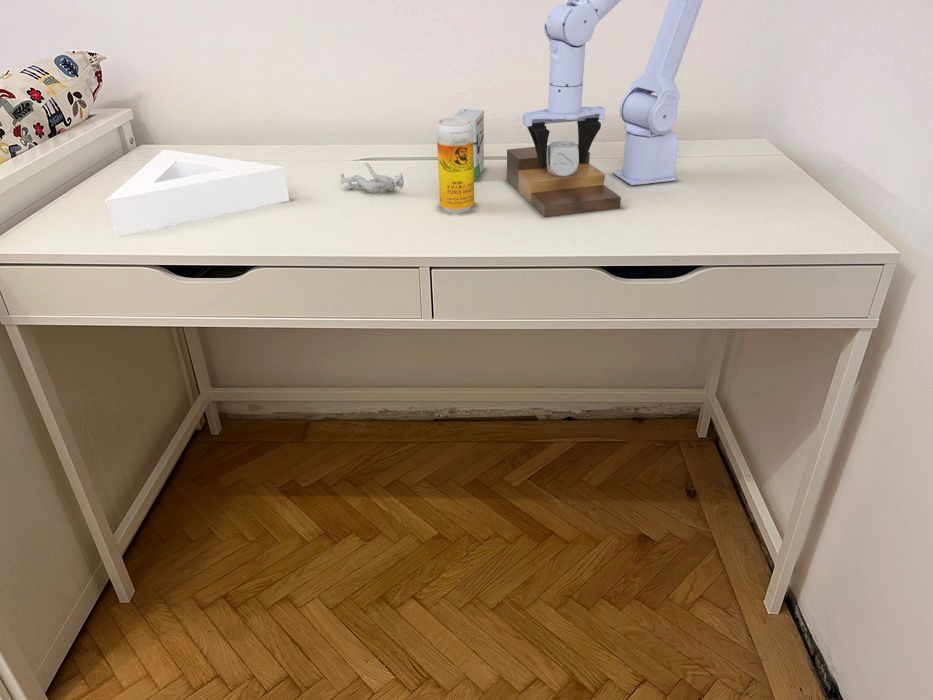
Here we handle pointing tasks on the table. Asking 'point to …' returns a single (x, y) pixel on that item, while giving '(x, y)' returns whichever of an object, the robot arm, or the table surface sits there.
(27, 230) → the table surface
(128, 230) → the triangle block
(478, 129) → the ink box
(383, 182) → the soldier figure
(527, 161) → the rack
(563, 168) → the die
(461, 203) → the beer can
